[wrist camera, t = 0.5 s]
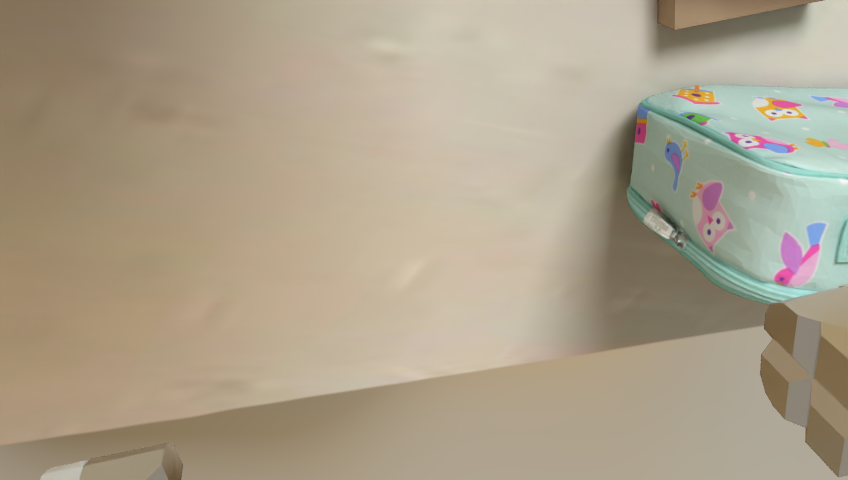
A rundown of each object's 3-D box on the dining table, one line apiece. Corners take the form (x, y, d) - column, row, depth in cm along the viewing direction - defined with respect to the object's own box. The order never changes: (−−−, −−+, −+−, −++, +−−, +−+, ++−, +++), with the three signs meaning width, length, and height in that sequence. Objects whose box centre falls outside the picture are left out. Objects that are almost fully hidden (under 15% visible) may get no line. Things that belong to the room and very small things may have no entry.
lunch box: (583, 202, 60) (729, 361, 41) (607, 74, 55) (783, 186, 36) (873, 200, 65) (1119, 340, 46) (916, 82, 60) (1209, 185, 42)
